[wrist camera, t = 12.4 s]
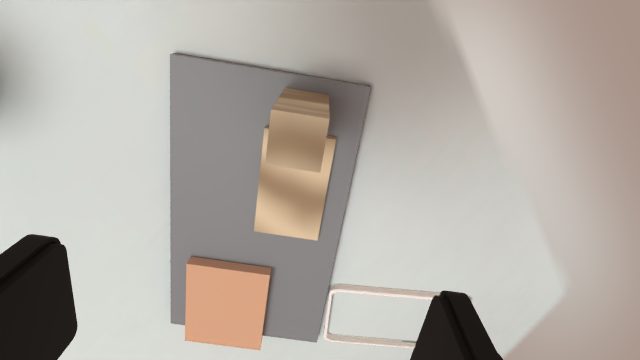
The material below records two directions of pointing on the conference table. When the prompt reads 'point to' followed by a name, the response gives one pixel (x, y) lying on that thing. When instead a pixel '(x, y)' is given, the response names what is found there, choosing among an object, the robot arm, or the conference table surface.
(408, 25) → the conference table surface
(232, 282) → the tile
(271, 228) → the stepped wooden block
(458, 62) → the conference table surface
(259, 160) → the slate board
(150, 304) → the conference table surface
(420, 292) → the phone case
